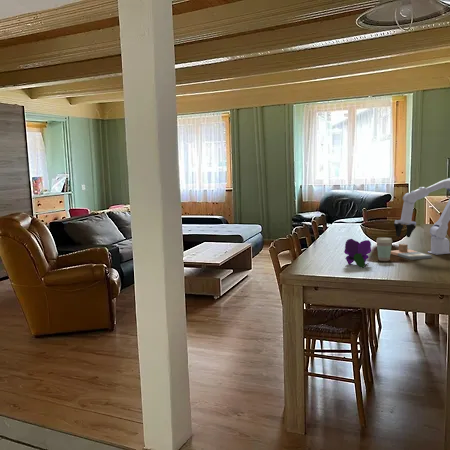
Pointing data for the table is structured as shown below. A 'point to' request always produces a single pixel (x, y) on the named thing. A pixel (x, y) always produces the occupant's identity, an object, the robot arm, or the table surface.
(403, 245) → the pink panel with block
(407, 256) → the ticket board
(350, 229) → the table surface
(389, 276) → the table surface
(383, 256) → the coffee cup
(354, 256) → the flower
